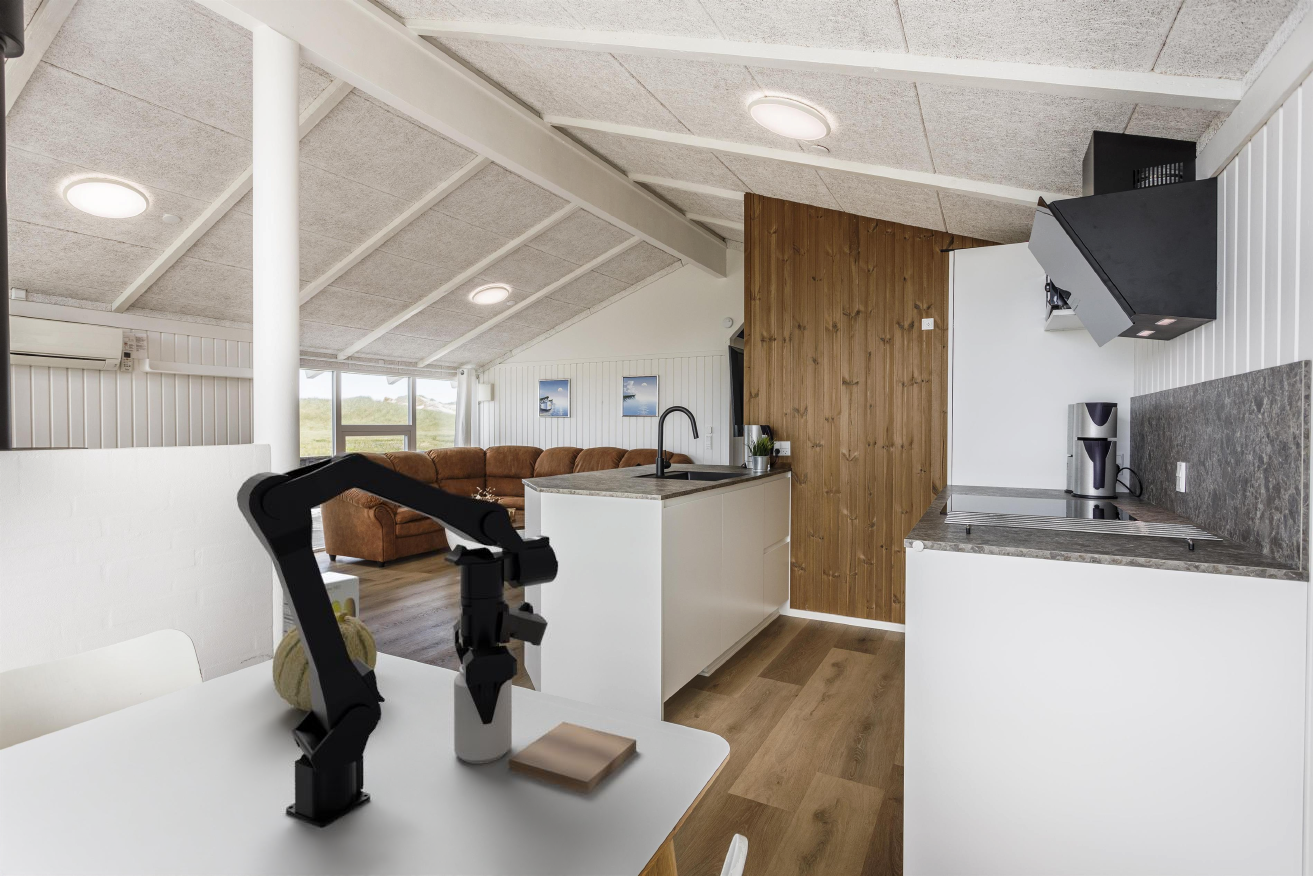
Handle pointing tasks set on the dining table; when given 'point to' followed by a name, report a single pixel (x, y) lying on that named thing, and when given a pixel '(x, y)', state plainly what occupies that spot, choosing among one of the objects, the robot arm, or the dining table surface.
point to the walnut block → (573, 756)
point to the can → (481, 725)
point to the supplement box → (332, 597)
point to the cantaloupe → (295, 667)
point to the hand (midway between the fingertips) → (482, 709)
